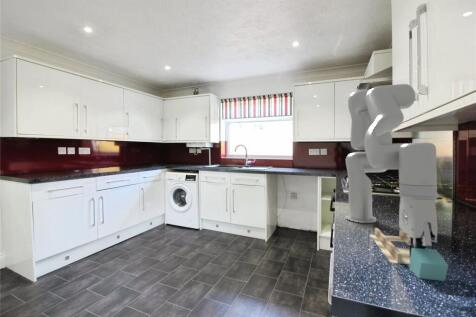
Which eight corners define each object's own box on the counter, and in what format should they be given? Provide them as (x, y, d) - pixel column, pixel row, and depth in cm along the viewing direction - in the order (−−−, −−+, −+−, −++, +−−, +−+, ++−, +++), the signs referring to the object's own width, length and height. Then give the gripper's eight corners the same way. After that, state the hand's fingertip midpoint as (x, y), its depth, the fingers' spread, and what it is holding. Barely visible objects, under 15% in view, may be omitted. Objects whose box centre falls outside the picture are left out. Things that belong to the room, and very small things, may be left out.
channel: (369, 238, 81) (369, 227, 81) (408, 241, 77) (408, 229, 77) (390, 267, 60) (390, 252, 60) (445, 273, 56) (445, 258, 56)
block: (411, 247, 55) (421, 262, 51) (436, 249, 54) (448, 265, 49) (408, 267, 57) (418, 283, 53) (432, 269, 56) (443, 286, 51)
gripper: (390, 186, 65) (391, 248, 66) (412, 195, 51) (414, 275, 51) (420, 187, 63) (421, 251, 63) (453, 196, 49) (454, 279, 49)
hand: (418, 261), depth 57 cm, fingers closed
